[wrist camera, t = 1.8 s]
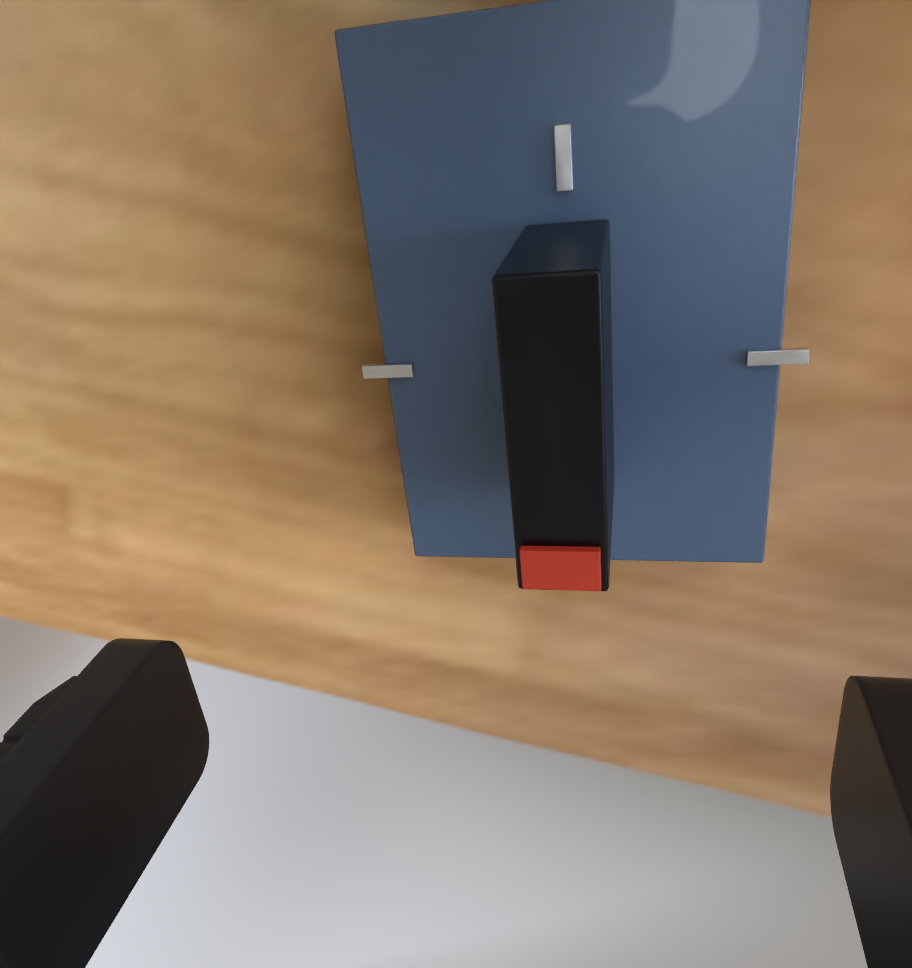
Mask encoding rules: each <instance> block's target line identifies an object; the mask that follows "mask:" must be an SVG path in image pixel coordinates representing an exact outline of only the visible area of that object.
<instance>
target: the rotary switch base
mask: <svg viewBox="0 0 912 968" xmlns="http://www.w3.org/2000/svg"><path fill="white" fill-rule="evenodd" d="M809 12H810V0H548V1H541V2H534V3H527V4H519V5H512V6H505V7H498V8H490V9H483V10H476V11H469V12H461V13H454V14H447V15H440V16H432V17H425V18H418V19H411V20H404V21H396V22H389V23H382V24H375V25H367V26H360V27H353V28H346V29H338V30H336V31H335V41H336V47H337V53H338V60H339V66H340V73H341V79H342V86H343V92H344V99H345V105H346V112H347V118H348V125H349V131H350V137H351V144H352V150H353V157H354V163H355V170H356V176H357V183H358V189H359V196H360V202H361V209H362V215H363V221H364V228H365V234H366V241H367V247H368V254H369V260H370V267H371V273H372V280H373V286H374V293H375V299H376V305H377V312H378V318H379V325H380V331H381V338H382V344H383V351H384V357H385V364H365V365H363V366H362V370H363V376H364V379H371V378H388V383H389V389H390V396H391V402H392V409H393V415H394V422H395V428H396V435H397V441H398V448H399V454H400V461H401V467H402V473H403V480H404V486H405V493H406V499H407V506H408V512H409V519H410V525H411V532H412V538H413V545H414V551H415V555H416V556H436V557H488V558H516V556H515V544H514V532H513V521H512V509H511V498H510V486H509V474H508V463H507V451H506V440H505V428H504V416H503V405H502V393H501V382H500V370H499V359H498V347H497V335H496V324H495V312H494V301H493V289H492V278H493V276H494V274H495V273H496V271H497V269H498V268H499V266H500V265H501V263H502V262H503V260H504V258H505V257H506V255H507V254H508V252H509V251H510V249H511V248H512V246H513V244H514V243H515V241H516V240H517V238H518V237H519V235H520V233H521V232H522V230H523V229H524V227H525V226H527V225H540V224H553V223H566V222H579V221H593V220H609V223H610V264H611V320H612V377H613V433H614V500H613V519H612V538H611V557H610V560H647V561H699V562H752V563H761V562H763V560H764V550H765V538H766V526H767V514H768V502H769V490H770V478H771V466H772V454H773V442H774V430H775V419H776V407H777V395H778V383H779V371H780V365H790V364H808V363H809V353H810V349H809V348H790V349H781V347H782V335H783V323H784V311H785V299H786V287H787V275H788V263H789V251H790V239H791V227H792V215H793V203H794V192H795V180H796V168H797V156H798V144H799V132H800V120H801V108H802V96H803V84H804V72H805V60H806V48H807V36H808V24H809Z"/></svg>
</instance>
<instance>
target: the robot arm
mask: <svg viewBox="0 0 912 968" xmlns="http://www.w3.org/2000/svg"><path fill="white" fill-rule="evenodd" d="M208 750H209V732H208V727H207V724H206V721H205V718H204V715H203V712H202V709H201V706H200V703H199V700H198V697H197V694H196V691H195V688H194V684H193V682H192V678H191V675H190V672H189V669H188V666H187V663H186V660H185V657H184V654H183V652H182V650H181V648H180V647H179V646H178V645H177V644H176V643H175V642H173V641H165V640H144V639H123V638H120V639H115V640H112V641H111V642H109V643H108V644H107V645H105V646H104V648H103V649H102V650H101V651H100V652H99V653H98V654H97V655H96V656H95V657H94V658H93V659H92V661H91V662H90V663H89V664H88V665H87V666H86V667H85V668H84V669H83V671H82V672H81V673H80V674H79V675H78V676H73V677H71V678H70V679H69V680H67V681H66V682H64V683H63V684H61V685H60V686H58V687H57V688H55V689H54V690H52V691H51V692H49V693H48V694H46V695H45V696H43V697H42V698H41V699H39V700H38V701H36V702H35V703H34V704H33V705H32V706H31V707H30V708H29V709H28V710H27V711H26V712H25V713H24V714H23V715H22V717H20V718H19V719H18V721H17V722H16V723H15V724H14V725H13V726H12V727H11V728H10V729H9V730H8V731H7V732H6V733H5V734H4V739H3V741H2V743H1V742H0V968H85V967H86V965H87V963H88V962H89V960H90V958H91V957H92V955H93V954H94V951H95V950H96V949H97V947H98V945H99V944H100V942H101V940H102V938H103V937H104V935H105V934H106V932H107V931H108V929H109V927H110V926H111V924H112V922H113V920H114V919H115V917H116V916H117V914H118V912H119V911H120V909H121V907H122V906H123V904H124V903H125V901H126V899H127V898H128V896H129V894H130V893H131V891H132V889H133V888H134V886H135V884H136V883H137V881H138V879H139V878H140V876H141V875H142V873H143V871H144V870H145V868H146V866H147V864H148V863H149V861H150V860H151V858H152V856H153V854H154V853H155V851H156V850H157V848H158V846H159V845H160V843H161V841H162V840H163V838H164V836H165V835H166V833H167V832H168V830H169V828H170V827H171V825H172V823H173V822H174V820H175V818H176V817H177V815H178V813H179V812H180V810H181V808H182V807H183V805H184V804H185V802H186V800H187V798H188V797H189V795H190V794H191V792H192V790H193V789H194V787H195V786H196V784H197V782H198V781H199V779H200V777H201V775H202V773H203V770H204V767H205V764H206V761H207V757H208ZM830 800H831V814H832V822H833V828H834V834H835V838H836V843H837V847H838V851H839V855H840V859H841V863H842V867H843V870H844V875H845V879H846V883H847V887H848V891H849V894H850V898H851V902H852V906H853V910H854V914H855V918H856V922H857V926H858V930H859V934H860V938H861V942H862V946H863V950H864V954H865V958H866V962H867V966H868V968H912V679H908V678H887V677H866V676H850V677H849V678H848V679H847V681H846V684H845V688H844V694H843V701H842V707H841V714H840V720H839V727H838V734H837V740H836V747H835V754H834V760H833V767H832V773H831V785H830Z"/></svg>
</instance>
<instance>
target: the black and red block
mask: <svg viewBox="0 0 912 968" xmlns="http://www.w3.org/2000/svg"><path fill="white" fill-rule="evenodd" d="M492 289H493V301H494V312H495V324H496V335H497V347H498V359H499V370H500V382H501V393H502V405H503V416H504V428H505V440H506V451H507V463H508V474H509V486H510V498H511V509H512V521H513V532H514V544H515V556H516V567H517V579H518V586H519V588H521V589H542V590H578V591H607V590H608V588H609V576H610V557H611V538H612V519H613V500H614V433H613V377H612V320H611V264H610V223H609V220H593V221H579V222H566V223H553V224H540V225H527V226H525V227H524V229H523V230H522V232H521V233H520V235H519V237H518V238H517V240H516V241H515V243H514V244H513V246H512V248H511V249H510V251H509V252H508V254H507V255H506V257H505V258H504V260H503V262H502V263H501V265H500V266H499V268H498V269H497V271H496V273H495V274H494V276H493V278H492Z"/></svg>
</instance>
